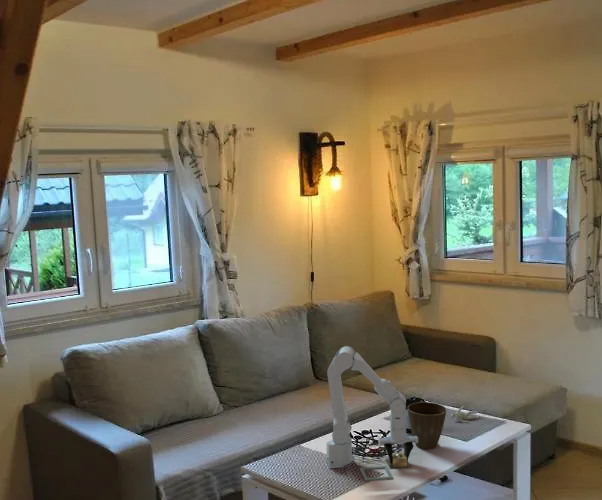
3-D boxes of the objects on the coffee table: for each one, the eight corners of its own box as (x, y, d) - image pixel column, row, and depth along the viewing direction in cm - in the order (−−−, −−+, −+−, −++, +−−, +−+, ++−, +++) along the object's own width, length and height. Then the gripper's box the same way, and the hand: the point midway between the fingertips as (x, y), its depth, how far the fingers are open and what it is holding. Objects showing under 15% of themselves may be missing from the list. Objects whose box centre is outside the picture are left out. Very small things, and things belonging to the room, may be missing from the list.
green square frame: (365, 483, 249) (365, 479, 249) (359, 471, 259) (359, 467, 259) (393, 481, 250) (393, 477, 250) (386, 469, 260) (386, 465, 260)
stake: (390, 471, 258) (390, 459, 258) (385, 462, 266) (385, 451, 266) (411, 470, 259) (411, 458, 259) (406, 461, 267) (406, 449, 267)
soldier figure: (481, 423, 306) (459, 419, 301) (474, 428, 309) (452, 424, 304) (476, 407, 311) (455, 403, 306) (469, 412, 314) (448, 408, 309)
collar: (393, 467, 260) (393, 459, 259) (390, 461, 265) (390, 453, 264) (406, 466, 260) (406, 458, 260) (403, 460, 265) (403, 452, 265)
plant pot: (431, 437, 289) (432, 399, 287) (453, 451, 275) (454, 411, 273) (400, 443, 283) (400, 405, 281) (420, 457, 269) (421, 417, 267)
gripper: (381, 432, 256) (381, 468, 258) (420, 429, 258) (420, 465, 259) (377, 425, 263) (377, 460, 265) (415, 422, 265) (415, 457, 266)
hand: (398, 462), depth 262 cm, fingers closed on collar, 5 cm apart
